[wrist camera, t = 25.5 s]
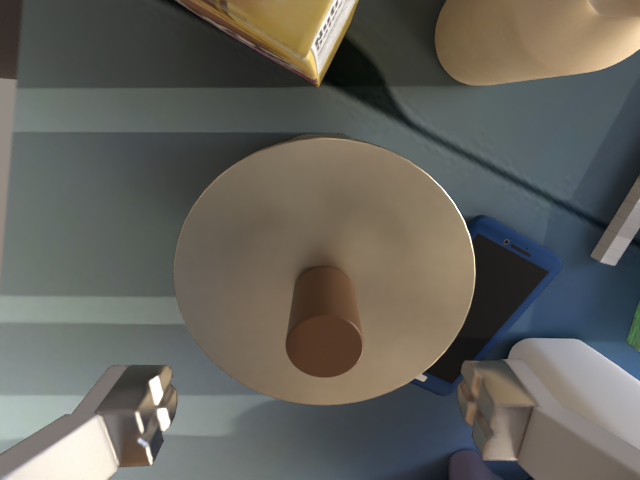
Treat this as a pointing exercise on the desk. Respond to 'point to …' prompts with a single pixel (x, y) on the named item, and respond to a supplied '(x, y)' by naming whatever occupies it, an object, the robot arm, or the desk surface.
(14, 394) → the desk surface
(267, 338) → the tin lid
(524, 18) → the candle
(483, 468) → the piggy bank
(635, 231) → the light grey square bar
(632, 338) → the carved green slab
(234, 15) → the candy box
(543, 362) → the cup
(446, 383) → the cell phone
